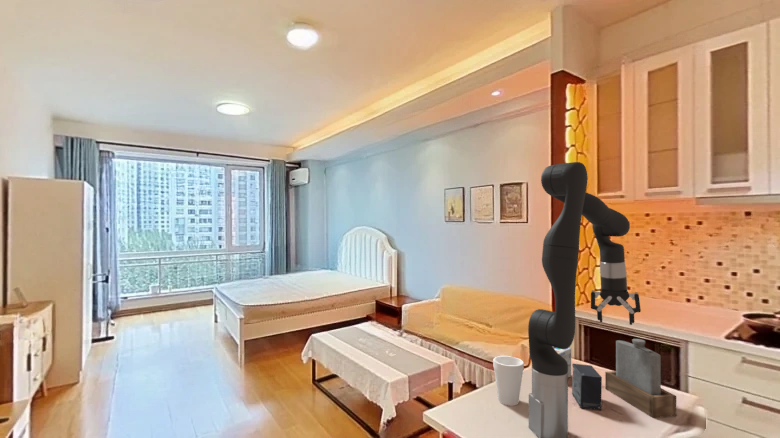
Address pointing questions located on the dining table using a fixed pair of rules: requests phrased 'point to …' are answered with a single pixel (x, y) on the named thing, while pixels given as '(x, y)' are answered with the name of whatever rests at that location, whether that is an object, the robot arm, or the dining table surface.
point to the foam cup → (508, 378)
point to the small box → (586, 386)
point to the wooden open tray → (641, 397)
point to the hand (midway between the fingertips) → (615, 322)
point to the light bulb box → (565, 357)
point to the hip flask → (639, 365)
